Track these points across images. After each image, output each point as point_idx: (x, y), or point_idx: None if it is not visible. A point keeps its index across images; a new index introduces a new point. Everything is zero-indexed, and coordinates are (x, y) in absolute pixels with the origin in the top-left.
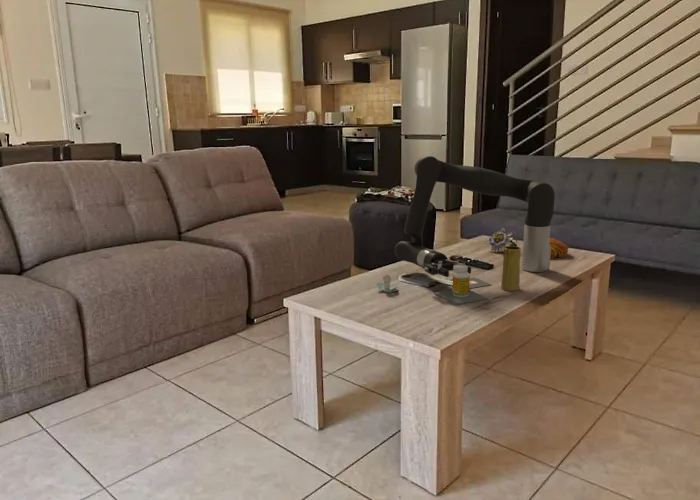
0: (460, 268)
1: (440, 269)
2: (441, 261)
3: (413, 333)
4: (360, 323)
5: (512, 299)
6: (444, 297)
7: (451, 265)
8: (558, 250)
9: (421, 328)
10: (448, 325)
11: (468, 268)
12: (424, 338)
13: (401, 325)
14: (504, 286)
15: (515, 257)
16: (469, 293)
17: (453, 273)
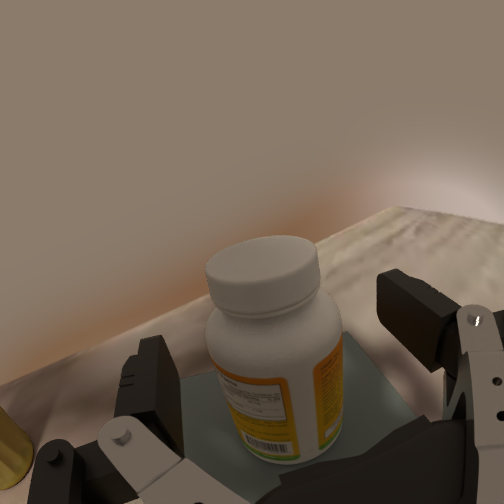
0: (285, 238)
1: (455, 315)
2: (491, 451)
3: (446, 222)
4: None
5: (97, 373)
6: (394, 389)
7: (296, 482)
8: None
9: (437, 232)
10: (382, 244)
11: (163, 345)
12: (423, 216)
13: (480, 236)
14: (20, 447)
15: None
16: (226, 443)
17: (335, 312)
